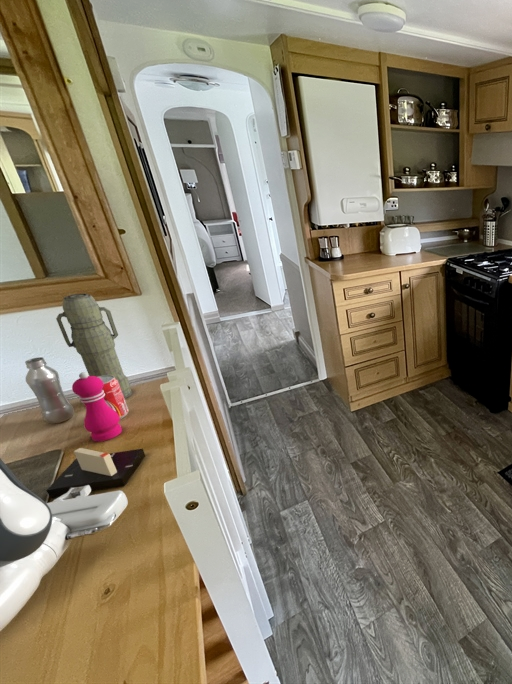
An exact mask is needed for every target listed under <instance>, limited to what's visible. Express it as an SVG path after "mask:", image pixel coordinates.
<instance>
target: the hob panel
mask: <svg viewBox="0 0 512 684" xmlns="http://www.w3.org/2000/svg"><path fill="white" fill-rule="evenodd" d="M108 454H110V456H111V458H112V461H113V463H114V466H115V468H116V470H117V473H115V474H114V475H112V476H108V475H104V474H99V473H95V472H90V471H86V470H82V469H81V467H80V464H79V462H78V460H77V458H75V459H74V460H73V461H72V462H71V463H70V464H69V465H68V466H67V467H66V469H65V470H63V472H62V473H61V474H60V475H59V476H58V477H57V478H56V479H55V480H54V482H52V483H51V485H50V486H48V487H47V488H46V493H47V494H48V497H49V498H50V499H57V498H58V497H60V496H62V495H64V494H66V493H67V492H68V491H69V490H70V489H71V488H75V487H81V486H87V485H89V486H90V488H91V492H97V491H102V490H108V489H114V488H115V489H116V488H121V487H125V486H126V485H127V483H128V482H129V480H130V479H131V478H132V476H133V475H134V473H136V470H137V469H138V468H139V467H140V465H141V463H142V462H143V460H144V459H145V458H146V454H145V451H144V449H143V448H137V449H130V450H124V451H116V452H108Z"/></svg>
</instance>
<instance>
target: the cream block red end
mask: <svg viewBox="0 0 512 684" xmlns="http://www.w3.org/2000/svg"><path fill="white" fill-rule="evenodd" d="M73 453H74V455H75V457H76V458H77V460H78V462H79V464H80V467H81V469H82V470H86V471H90V472H95V473H99V474H104V475H108V476H112V475H114V474H115V473H117V470H116V468H115V466H114V463H113V461H112V458H111V456H110V454H109V452H104V451H103V452H102V451H97V450H94V449H93V450H92V449H89V448H88V449H87V448H83V447H79V448H77V449H75V450H73ZM76 458H75V459H76Z"/></svg>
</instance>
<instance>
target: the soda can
mask: <svg viewBox="0 0 512 684" xmlns="http://www.w3.org/2000/svg"><path fill="white" fill-rule="evenodd" d="M98 378H100V379H101V380H102V381H103V384H104V386H103V388H102V390H103V391H104V393H105V396H104V400H105V402H106V404H107V405H108V406H109V407H110V408H112V409H113V410H114V411H116V412H117V414H118V415H119V417H120V420H122V419H124V418H125V417H126V416H127V415H128V413H129V411H130V410H129V407H128V405H127V401H126V398H125V399H124V396H123V393H122V391H121V388H120V385H119V383H118V381H117V380H116V379H115V378H114V376H113V375H103V376H98Z"/></svg>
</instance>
